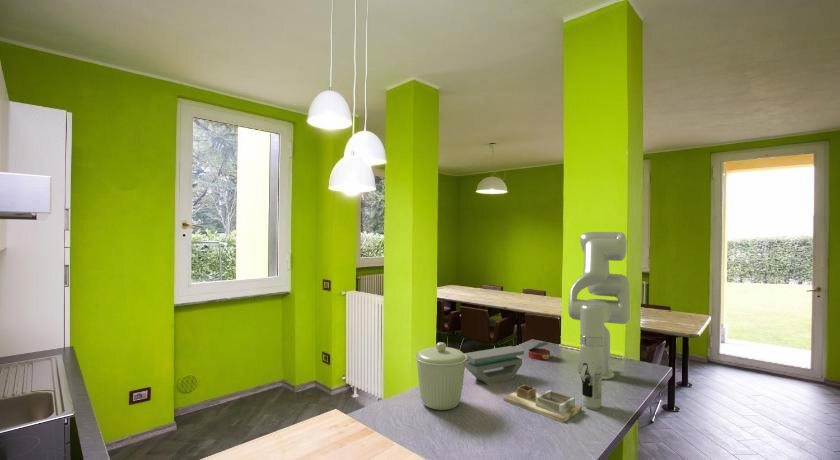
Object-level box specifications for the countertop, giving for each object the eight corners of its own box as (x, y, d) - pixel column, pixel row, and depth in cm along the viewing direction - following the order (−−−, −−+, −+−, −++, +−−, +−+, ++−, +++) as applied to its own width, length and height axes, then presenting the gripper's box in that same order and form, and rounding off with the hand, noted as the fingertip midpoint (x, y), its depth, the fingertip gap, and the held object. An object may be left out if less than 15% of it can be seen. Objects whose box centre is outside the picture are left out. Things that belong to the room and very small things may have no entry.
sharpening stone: (474, 387, 151) (474, 359, 151) (462, 381, 158) (462, 353, 158) (524, 377, 163) (524, 350, 163) (511, 371, 170) (511, 345, 170)
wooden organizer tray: (524, 390, 149) (524, 379, 149) (581, 410, 132) (581, 397, 132) (503, 400, 140) (503, 388, 140) (562, 422, 124) (562, 409, 124)
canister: (439, 389, 149) (439, 333, 150) (477, 404, 136) (478, 343, 137) (403, 403, 137) (404, 342, 137) (442, 421, 124) (442, 353, 124)
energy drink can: (587, 401, 140) (588, 358, 140) (604, 407, 135) (605, 363, 135) (578, 405, 136) (579, 361, 136) (595, 412, 131) (596, 366, 131)
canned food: (534, 369, 186) (524, 350, 186) (531, 360, 196) (522, 342, 196) (556, 360, 184) (546, 341, 184) (553, 351, 194) (543, 333, 194)
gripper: (592, 334, 144) (591, 384, 144) (569, 342, 133) (569, 397, 132) (613, 338, 139) (613, 390, 139) (592, 347, 127) (591, 404, 127)
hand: (591, 392), depth 135 cm, fingers closed on energy drink can, 6 cm apart
